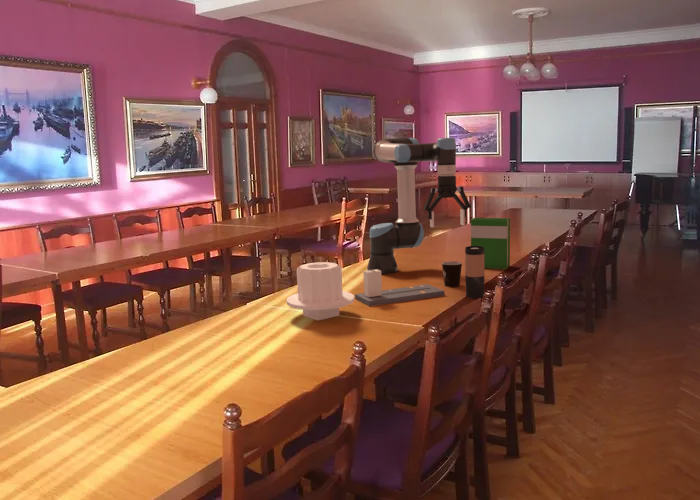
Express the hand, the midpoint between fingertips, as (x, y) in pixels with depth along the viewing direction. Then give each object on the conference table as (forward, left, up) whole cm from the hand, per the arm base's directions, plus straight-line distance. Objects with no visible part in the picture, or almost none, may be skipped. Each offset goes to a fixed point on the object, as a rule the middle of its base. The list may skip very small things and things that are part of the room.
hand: (447, 226), depth 261 cm
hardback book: (-30, +43, -27) cm, 59 cm away
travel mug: (+16, +3, -27) cm, 32 cm away
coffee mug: (-6, +6, -27) cm, 28 cm away
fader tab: (+2, -36, -25) cm, 44 cm away
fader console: (+2, -24, -27) cm, 37 cm away
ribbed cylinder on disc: (+12, -62, -27) cm, 69 cm away
